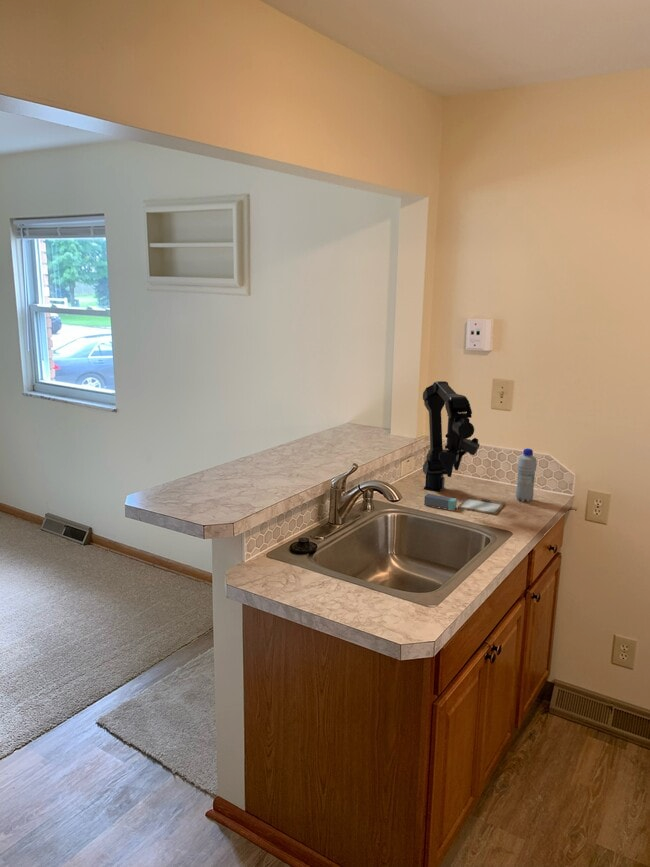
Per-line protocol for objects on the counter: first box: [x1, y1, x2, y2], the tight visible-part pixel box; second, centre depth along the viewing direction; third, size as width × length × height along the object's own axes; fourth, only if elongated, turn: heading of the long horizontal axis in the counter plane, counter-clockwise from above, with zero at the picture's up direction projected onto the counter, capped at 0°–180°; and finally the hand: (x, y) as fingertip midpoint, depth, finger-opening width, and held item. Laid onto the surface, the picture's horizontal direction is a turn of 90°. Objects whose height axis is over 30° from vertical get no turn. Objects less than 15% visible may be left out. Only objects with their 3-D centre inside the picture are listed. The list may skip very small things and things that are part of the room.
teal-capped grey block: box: [423, 493, 458, 511], centre depth 242 cm, size 11×4×4 cm, turn 61°
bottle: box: [515, 448, 537, 503], centre depth 247 cm, size 7×7×20 cm
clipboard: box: [457, 496, 506, 516], centre depth 243 cm, size 14×12×1 cm
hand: (453, 473), depth 240 cm, fingers open, 9 cm apart
